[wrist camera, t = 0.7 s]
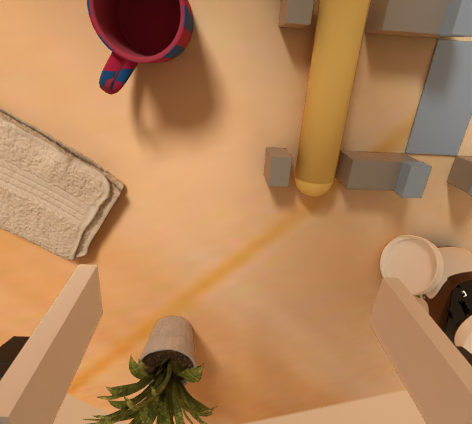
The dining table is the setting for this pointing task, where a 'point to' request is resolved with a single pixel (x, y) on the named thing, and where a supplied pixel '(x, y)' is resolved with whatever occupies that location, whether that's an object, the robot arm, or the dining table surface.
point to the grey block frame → (430, 106)
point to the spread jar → (435, 282)
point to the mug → (139, 34)
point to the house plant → (161, 379)
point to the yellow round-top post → (329, 92)
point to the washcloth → (51, 189)
